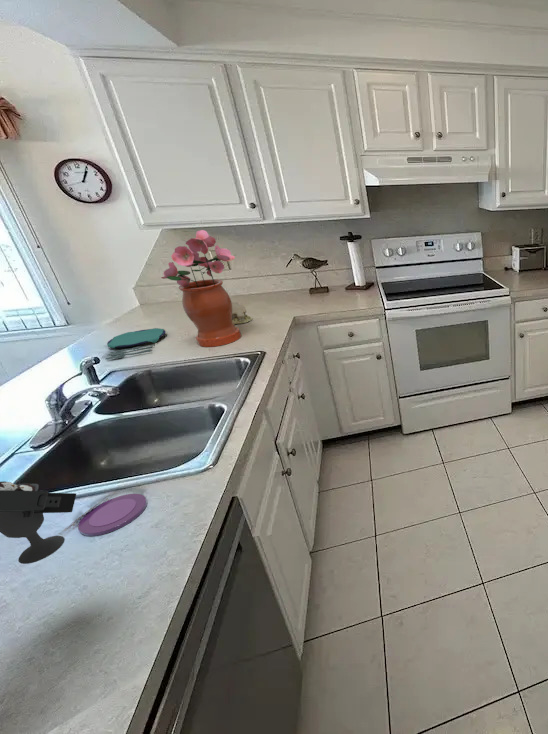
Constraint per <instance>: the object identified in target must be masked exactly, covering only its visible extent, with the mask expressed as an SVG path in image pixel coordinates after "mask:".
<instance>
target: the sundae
mask: <svg viewBox="0 0 548 734" xmlns="http://www.w3.org/2000/svg"><path fill="white" fill-rule="evenodd" d="M0 490H13V491H39V484H38V483H18V484H15V483H14V482H10V481H0ZM23 516H24V513H22V512H6V513H0V534H2V535H3V536H5V537H6V538H9V539H21V538H26V540H27V541H28V542H29V544H30V545H29V546H28V547H27V548H25V549H24V550H23V551H22V552H21V553H20V554H19V556H18V560H17V561H18V563H20V564H21V565H22V564H23V565H29V564H34V563H36V562H40V561H42V560H44V559H46V558H48V557H49V556H51V555H53V554H54V553H56V552H57V551H58V550H60V549H61V548H62V546H63V545H64V543H65V540H66V538H65V537H64V536H63V535H52V536H48V537H46V538H43V537H42V536H40V534H39V533H38V530H39V529H40V528H41V526H42V525H43V524H44V521H45V515H44V513H34V514H33V517H27V518H23Z"/></svg>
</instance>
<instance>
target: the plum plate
mask: <svg viewBox="0 0 548 734" xmlns="http://www.w3.org/2000/svg"><path fill="white" fill-rule="evenodd" d="M147 505H148V499H147V498H146V497H145V495H144V494H140V493H128V494H123V495H120V496H116V497H112V498H110V499H108V500H106V501H104V502H102V503H100V504H99V505H97V506H95V507H93V508H92V509H91V510H89V511H88V512H87V513H86V514H84V516H83V517H81V519H80V520H79V522H78V525H77V529H78V531H79V533H80V534H81V535H83V536H86V537H98V536H102V535H106V534H109V533H112V532H115V531H117V530H120V529H121V528H124V527H125V526H127V525H128V524H130V523H132V522H133V521H134V520H135V519H137V518H138V517H140V515H142V513H143V512H144V511H145V510H146V509H147Z"/></svg>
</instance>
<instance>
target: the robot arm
mask: <svg viewBox="0 0 548 734" xmlns="http://www.w3.org/2000/svg"><path fill="white" fill-rule="evenodd" d="M76 498H77V493H76V492H75V493H72V492H71V493H70V492H49V491H48V490H45V489H42V490H41V489H40V490H38V491H13V490H0V513H6V512H22V513H24V516H23V518H27V517H33V514H34V513H43V514H59V513H60V514H65V513H67V514H68V513H72V512H73V511H74V505H75V501H76Z"/></svg>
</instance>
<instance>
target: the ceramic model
mask: <svg viewBox="0 0 548 734" xmlns="http://www.w3.org/2000/svg"><path fill="white" fill-rule="evenodd" d="M232 308H233V310H232V322H233V324H234V325H238V324H239V325H240V324H244V323H245V324H246V323H249V322H251V321H253V318H252V317H251V316H250V315H248V314H247V309H246V306H245V305H243V304H241V303H239V302H238V301H234V302H232Z"/></svg>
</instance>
